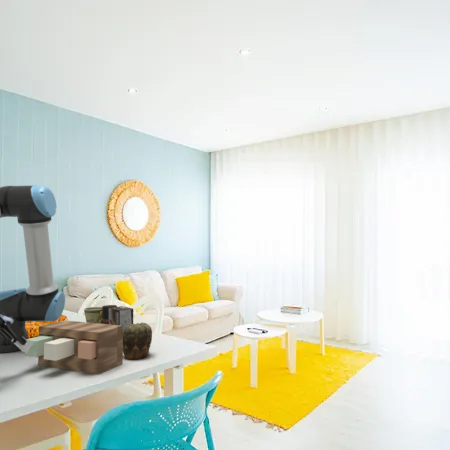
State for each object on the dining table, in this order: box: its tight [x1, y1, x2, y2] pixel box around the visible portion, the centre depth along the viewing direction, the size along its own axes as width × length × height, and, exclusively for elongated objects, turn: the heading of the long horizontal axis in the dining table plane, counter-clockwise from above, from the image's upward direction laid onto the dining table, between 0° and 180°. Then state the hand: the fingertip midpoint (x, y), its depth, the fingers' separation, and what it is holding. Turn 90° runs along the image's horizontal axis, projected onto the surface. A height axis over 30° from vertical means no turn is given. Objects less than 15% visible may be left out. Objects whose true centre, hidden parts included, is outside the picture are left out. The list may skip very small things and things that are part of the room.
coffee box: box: [109, 305, 134, 333], centre depth 159 cm, size 9×6×16 cm
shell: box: [123, 322, 153, 361], centre depth 148 cm, size 11×11×12 cm
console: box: [37, 319, 124, 375], centre depth 138 cm, size 26×12×13 cm, turn 67°
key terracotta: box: [78, 339, 97, 360], centre depth 131 cm, size 5×9×5 cm, turn 157°
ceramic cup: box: [83, 306, 102, 324], centre depth 196 cm, size 13×10×10 cm
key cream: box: [44, 337, 75, 361], centre depth 130 cm, size 5×9×5 cm, turn 157°
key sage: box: [24, 335, 54, 358], centre depth 134 cm, size 5×9×5 cm, turn 157°
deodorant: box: [101, 304, 118, 324], centre depth 171 cm, size 6×6×15 cm
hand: (27, 348), depth 129 cm, fingers closed
